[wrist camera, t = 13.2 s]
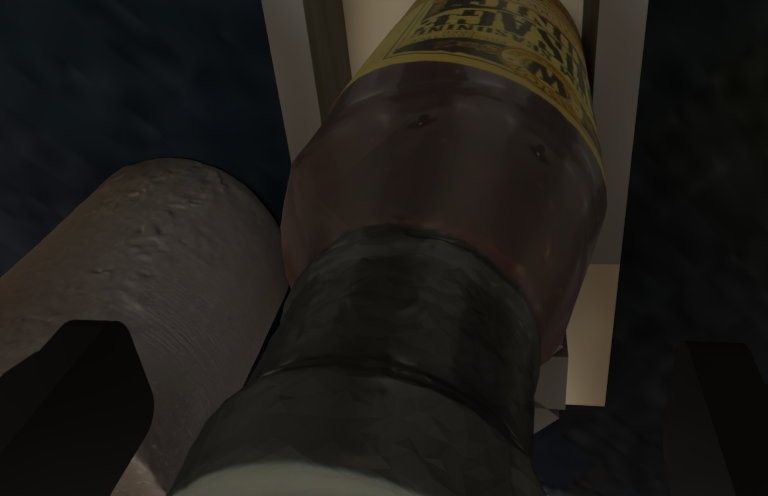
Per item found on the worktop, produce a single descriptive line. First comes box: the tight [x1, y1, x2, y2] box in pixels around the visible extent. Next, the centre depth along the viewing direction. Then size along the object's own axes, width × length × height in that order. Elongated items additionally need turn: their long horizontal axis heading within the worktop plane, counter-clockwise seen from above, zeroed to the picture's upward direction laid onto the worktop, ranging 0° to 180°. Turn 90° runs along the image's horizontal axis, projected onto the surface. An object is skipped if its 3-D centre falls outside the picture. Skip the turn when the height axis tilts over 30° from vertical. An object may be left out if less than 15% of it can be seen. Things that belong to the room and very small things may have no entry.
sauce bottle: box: [167, 0, 607, 496], centre depth 15 cm, size 6×6×20 cm
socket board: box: [261, 0, 648, 433], centre depth 24 cm, size 12×23×6 cm, turn 5°
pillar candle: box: [0, 158, 289, 496], centre depth 25 cm, size 10×10×15 cm
